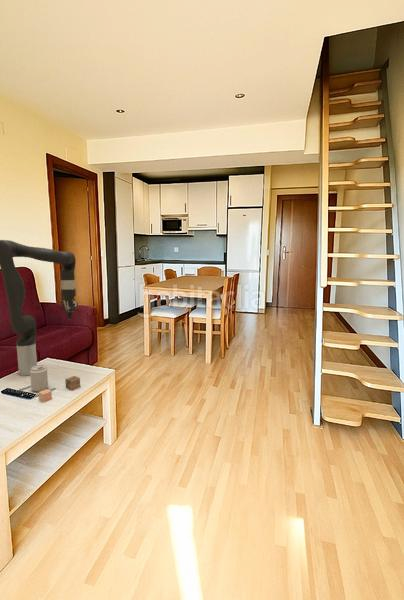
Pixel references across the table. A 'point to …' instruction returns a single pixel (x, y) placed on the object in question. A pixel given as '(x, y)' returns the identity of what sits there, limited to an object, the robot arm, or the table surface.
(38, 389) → the can
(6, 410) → the table surface
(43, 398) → the clay block
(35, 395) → the frame
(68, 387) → the walnut block
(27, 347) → the robot arm
